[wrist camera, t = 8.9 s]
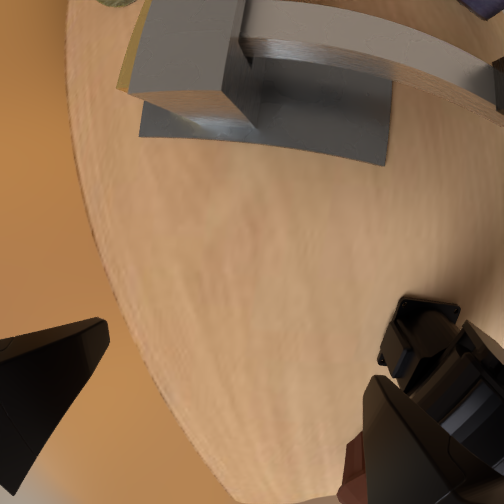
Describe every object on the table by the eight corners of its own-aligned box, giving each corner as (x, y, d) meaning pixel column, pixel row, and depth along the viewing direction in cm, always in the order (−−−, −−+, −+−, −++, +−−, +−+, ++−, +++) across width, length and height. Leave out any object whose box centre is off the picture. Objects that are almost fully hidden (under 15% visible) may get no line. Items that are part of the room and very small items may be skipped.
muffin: (353, 413, 24) (363, 493, 14) (440, 408, 22) (466, 473, 13) (324, 467, 27) (323, 530, 18) (399, 463, 26) (410, 519, 16)
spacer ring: (212, 32, 16) (180, -14, 10) (192, 111, 18) (146, 87, 12) (188, 32, 16) (149, -10, 10) (168, 109, 18) (115, 88, 12)
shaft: (504, 91, 9) (566, 75, 3) (506, 134, 10) (574, 130, 4) (208, 18, 11) (165, -43, 5) (199, 60, 12) (145, 8, 6)
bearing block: (389, 36, 14) (438, -33, 5) (382, 166, 18) (454, 164, 8) (166, 19, 16) (101, -38, 7) (142, 137, 20) (49, 125, 10)
